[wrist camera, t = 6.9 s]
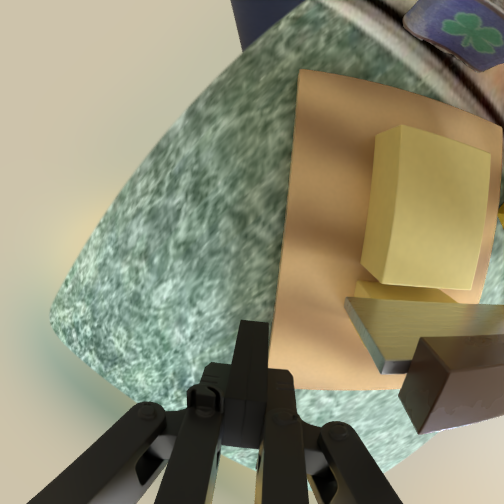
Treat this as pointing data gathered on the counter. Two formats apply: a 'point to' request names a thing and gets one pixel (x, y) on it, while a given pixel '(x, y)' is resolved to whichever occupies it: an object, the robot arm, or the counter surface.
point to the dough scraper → (437, 357)
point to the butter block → (425, 210)
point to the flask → (461, 29)
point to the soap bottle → (501, 214)
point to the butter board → (350, 221)
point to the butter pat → (399, 293)
